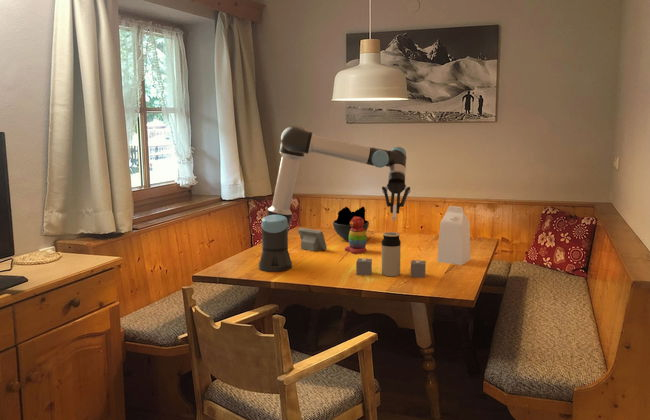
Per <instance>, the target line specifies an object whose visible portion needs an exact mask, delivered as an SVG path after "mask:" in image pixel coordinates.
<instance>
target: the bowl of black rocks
mask: <svg viewBox="0 0 650 420" xmlns="http://www.w3.org/2000/svg"><path fill="white" fill-rule="evenodd" d="M354 216H356V217H361V218H362V219H363V221H364V225H363V228H364V229H365V231H366V232H367V231H368V228H369V225H370V222H369V221H368V220H366V207H365V206H361V207H360V208H357V209H356V210H355V211H351V209H350V208H349V207H348V206H345V207H343V208H342V209H340V210H338V213H337V218H336V219H335V220H333V222H332V226H333V229H334V231H335V233H336V235H338V236H339V237H340V238H342V239H344V240H347V241H349V232H350V229H351V228H352V227H351V225H350V221H351V220H352V218H354Z"/></svg>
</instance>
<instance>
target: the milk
mask: <svg viewBox="0 0 650 420" xmlns="http://www.w3.org/2000/svg"><path fill="white" fill-rule="evenodd" d="M470 229H471V223H470V220H469V218H468V217H467V215H466V214H465V212H464V209H463V207H462V206H456V205H455V206H453V205H449V206H448V207H447V210H446V212H445V214H444V215H443V216H442V219H441V220H440V224H439V234H438V244H437V245H438V246H437V258H436V259H437V260H436V263H442V264H443V263H444V264H451V265H459V266H462V265H464V264H466V263H469V261H471V235H470V234H471V230H470Z"/></svg>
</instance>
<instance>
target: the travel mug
mask: <svg viewBox="0 0 650 420" xmlns="http://www.w3.org/2000/svg"><path fill="white" fill-rule="evenodd" d="M382 236H383V238H382V240H381V274H382V275H383V276H385V277H392V278H393V277H397V276H400V275H401V242H402V241H401V240H400V236H401V234H400V232H396V231H394V232H393V231H389V232H383V233H382Z"/></svg>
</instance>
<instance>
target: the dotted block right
mask: <svg viewBox="0 0 650 420" xmlns="http://www.w3.org/2000/svg"><path fill="white" fill-rule="evenodd" d="M426 266H427V265H426V260H419V259H418V260H415V259H414V260H411V261H410V278H423V279H425V278H426Z"/></svg>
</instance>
